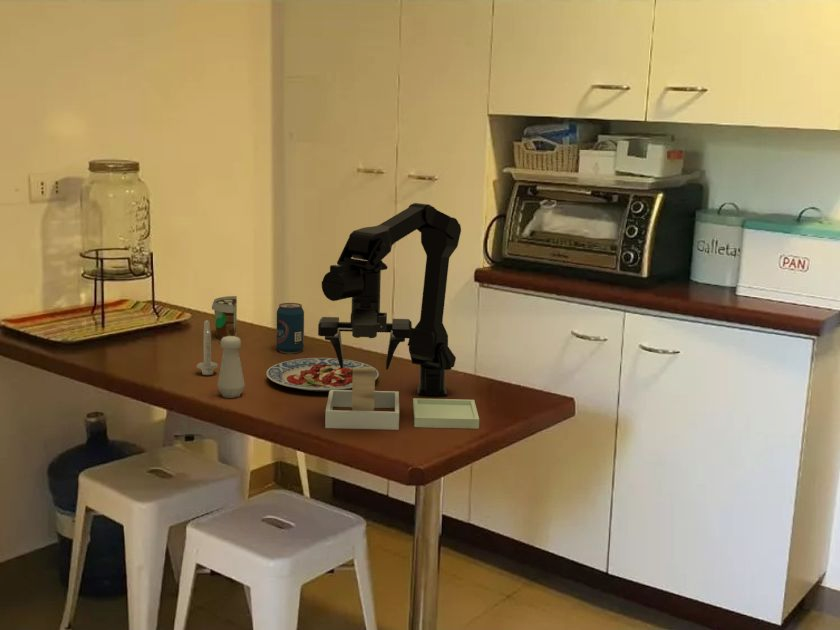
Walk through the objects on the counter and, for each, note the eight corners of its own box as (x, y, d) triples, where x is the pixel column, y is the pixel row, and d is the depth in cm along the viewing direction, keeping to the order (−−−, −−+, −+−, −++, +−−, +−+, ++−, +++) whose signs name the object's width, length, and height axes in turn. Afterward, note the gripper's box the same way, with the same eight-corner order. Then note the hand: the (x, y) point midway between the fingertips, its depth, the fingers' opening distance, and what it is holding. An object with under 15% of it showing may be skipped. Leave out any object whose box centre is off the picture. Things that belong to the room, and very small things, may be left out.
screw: (216, 370, 237) (219, 376, 233) (195, 371, 236) (197, 377, 231) (216, 316, 234) (218, 321, 230) (195, 317, 233) (197, 322, 228)
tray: (413, 407, 215) (413, 398, 215) (473, 408, 215) (474, 399, 215) (414, 427, 202) (414, 417, 202) (478, 428, 203) (479, 419, 202)
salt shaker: (246, 391, 222) (246, 334, 219) (242, 399, 216) (242, 340, 213) (219, 390, 222) (219, 333, 219) (215, 398, 216) (215, 340, 213)
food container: (214, 331, 275) (213, 295, 273) (236, 331, 276) (236, 295, 273) (209, 342, 263) (209, 304, 261) (233, 342, 264) (233, 305, 262)
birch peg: (352, 413, 209) (353, 367, 207) (374, 414, 210) (375, 368, 207) (351, 420, 205) (352, 373, 203) (373, 421, 205) (374, 374, 203)
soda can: (271, 350, 258) (271, 304, 255) (293, 346, 262) (293, 301, 259) (286, 355, 253) (287, 309, 250) (309, 351, 257) (309, 305, 254)
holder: (329, 405, 214) (329, 389, 213) (398, 407, 215) (398, 391, 214) (325, 428, 200) (325, 411, 199) (398, 429, 200) (399, 413, 200)
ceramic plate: (310, 360, 249) (310, 349, 249) (399, 378, 237) (399, 366, 236) (242, 384, 228) (242, 372, 227) (336, 405, 215) (337, 392, 215)
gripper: (316, 300, 193) (315, 378, 197) (413, 303, 194) (410, 380, 198) (320, 289, 204) (319, 363, 208) (412, 291, 205) (409, 365, 208)
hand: (364, 368), depth 205 cm, fingers open, 9 cm apart
